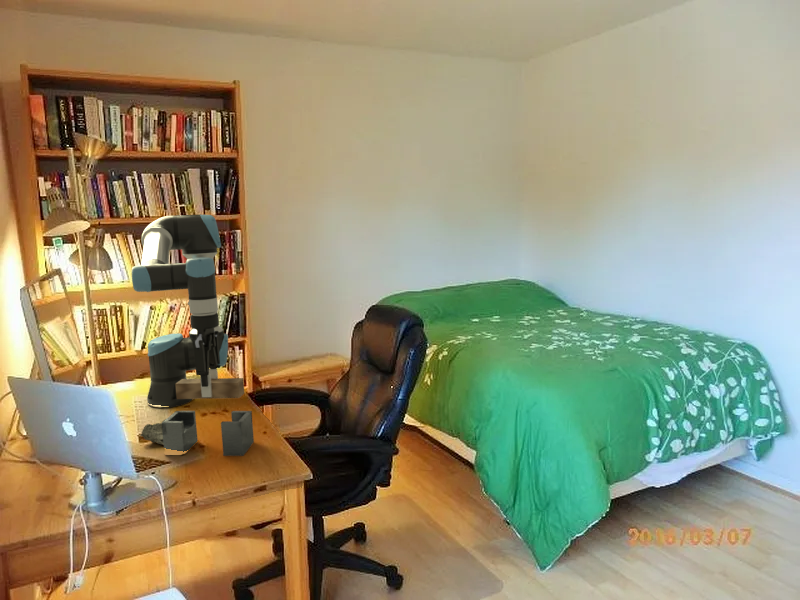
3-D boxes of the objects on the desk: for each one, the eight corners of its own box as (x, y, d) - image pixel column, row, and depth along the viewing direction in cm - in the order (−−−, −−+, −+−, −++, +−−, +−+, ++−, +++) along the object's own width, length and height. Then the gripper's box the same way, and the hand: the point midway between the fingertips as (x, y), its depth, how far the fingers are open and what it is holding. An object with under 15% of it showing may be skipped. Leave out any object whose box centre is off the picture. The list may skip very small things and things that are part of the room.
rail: (176, 399, 171) (175, 383, 171) (183, 394, 176) (181, 379, 175) (239, 398, 170) (238, 382, 169) (244, 393, 174) (243, 378, 174)
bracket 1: (179, 441, 178) (176, 410, 177) (197, 441, 178) (195, 410, 176) (164, 455, 169) (161, 422, 167) (184, 455, 169) (181, 422, 167)
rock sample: (161, 438, 171) (153, 413, 175) (143, 454, 172) (136, 428, 177) (189, 441, 179) (181, 417, 184) (172, 456, 181) (164, 432, 186)
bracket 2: (235, 442, 177) (232, 410, 175) (253, 442, 176) (251, 411, 175) (223, 455, 168) (220, 423, 166) (243, 455, 167) (240, 423, 166)
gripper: (202, 308, 178) (209, 384, 182) (177, 319, 161) (185, 404, 164) (228, 307, 177) (233, 384, 181) (205, 319, 160) (212, 404, 164)
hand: (210, 393), depth 173 cm, fingers closed on rail, 4 cm apart
